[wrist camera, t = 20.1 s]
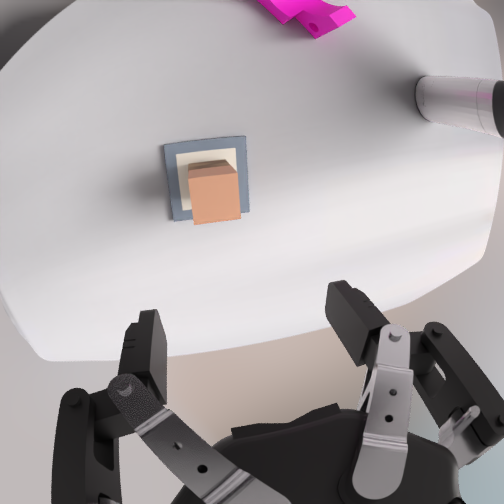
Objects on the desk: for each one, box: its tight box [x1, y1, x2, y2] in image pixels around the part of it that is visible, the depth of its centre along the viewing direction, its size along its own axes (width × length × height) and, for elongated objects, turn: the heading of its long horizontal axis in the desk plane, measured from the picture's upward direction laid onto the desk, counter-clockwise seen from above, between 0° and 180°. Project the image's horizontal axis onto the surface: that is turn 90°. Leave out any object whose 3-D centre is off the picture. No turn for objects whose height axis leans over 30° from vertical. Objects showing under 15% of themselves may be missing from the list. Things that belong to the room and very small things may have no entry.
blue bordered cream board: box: [164, 136, 250, 222], centre depth 37 cm, size 11×11×1 cm
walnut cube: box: [188, 159, 230, 171], centre depth 34 cm, size 5×5×5 cm
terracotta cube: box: [188, 165, 241, 225], centre depth 30 cm, size 5×5×5 cm
